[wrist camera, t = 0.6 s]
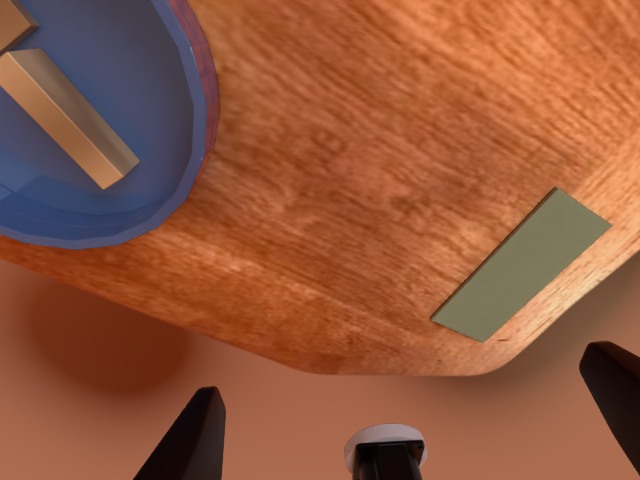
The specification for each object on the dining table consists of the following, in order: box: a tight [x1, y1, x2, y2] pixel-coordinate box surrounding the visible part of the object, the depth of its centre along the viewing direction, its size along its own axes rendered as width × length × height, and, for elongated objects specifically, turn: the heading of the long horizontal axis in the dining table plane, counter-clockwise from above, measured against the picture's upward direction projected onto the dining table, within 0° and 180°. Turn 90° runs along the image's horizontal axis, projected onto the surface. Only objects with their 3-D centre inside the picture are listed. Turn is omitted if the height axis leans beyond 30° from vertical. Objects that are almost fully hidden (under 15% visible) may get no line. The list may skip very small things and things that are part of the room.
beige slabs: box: [0, 0, 140, 190], centre depth 16 cm, size 11×3×2 cm, turn 30°
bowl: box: [0, 0, 219, 250], centre depth 17 cm, size 15×15×4 cm
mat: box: [430, 187, 612, 343], centre depth 26 cm, size 13×6×1 cm, turn 150°
